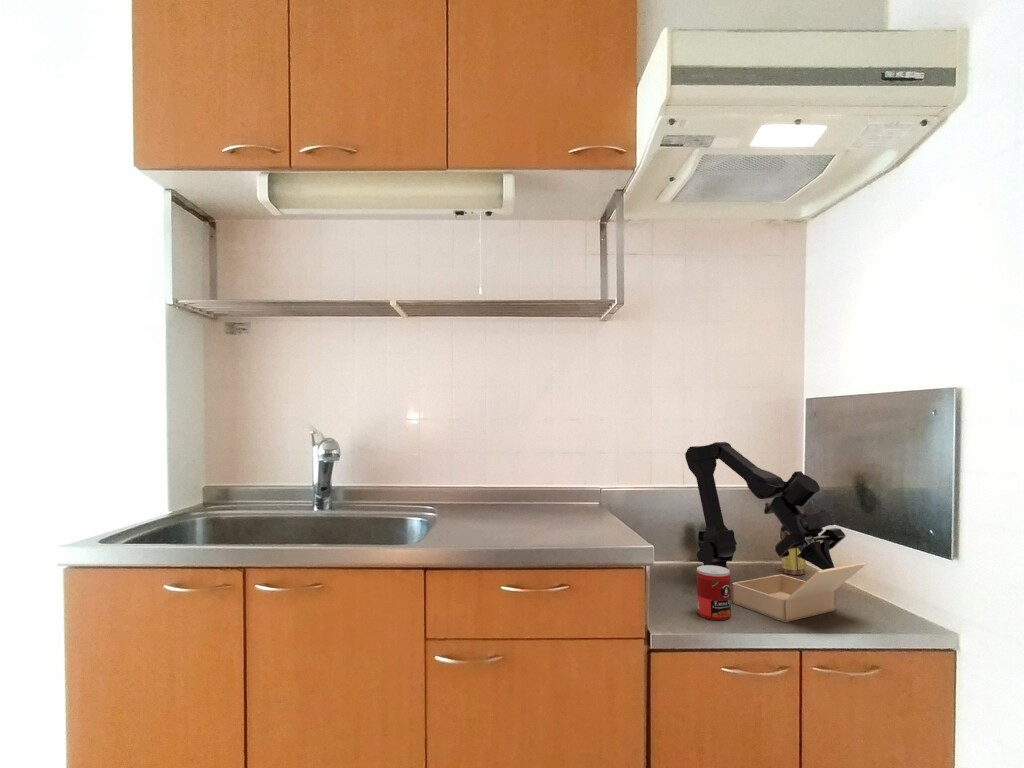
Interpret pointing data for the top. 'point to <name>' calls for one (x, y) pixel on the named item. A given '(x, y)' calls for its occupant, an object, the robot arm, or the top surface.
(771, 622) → the top surface
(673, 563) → the top surface
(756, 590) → the carton
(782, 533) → the sauce bottle
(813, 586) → the carton flap
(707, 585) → the canned food
